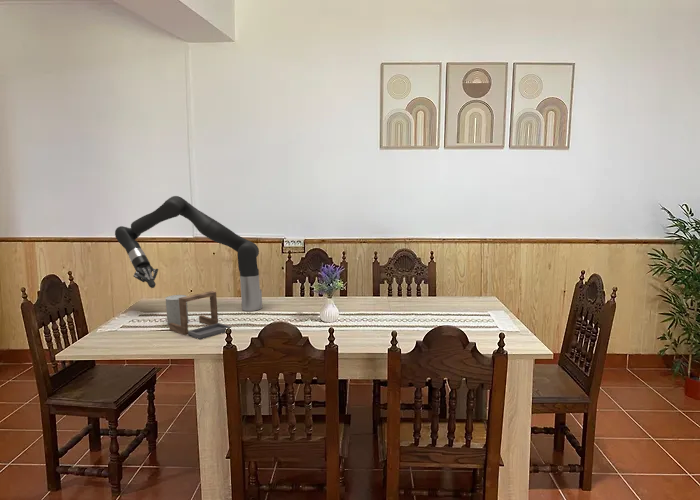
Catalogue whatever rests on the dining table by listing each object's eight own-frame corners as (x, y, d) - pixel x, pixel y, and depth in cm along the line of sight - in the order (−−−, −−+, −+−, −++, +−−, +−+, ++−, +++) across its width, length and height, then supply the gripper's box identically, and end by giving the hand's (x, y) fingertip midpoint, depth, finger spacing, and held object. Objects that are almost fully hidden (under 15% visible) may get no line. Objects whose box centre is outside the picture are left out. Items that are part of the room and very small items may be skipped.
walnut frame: (202, 321, 292) (199, 288, 289) (218, 326, 283) (216, 291, 280) (169, 329, 280) (166, 294, 277) (185, 335, 271) (182, 299, 268)
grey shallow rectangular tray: (219, 327, 282) (219, 322, 281) (231, 330, 275) (230, 326, 275) (188, 335, 270) (187, 331, 270) (199, 339, 264) (199, 335, 264)
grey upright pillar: (167, 326, 285) (165, 300, 283) (167, 321, 294) (165, 295, 292) (188, 324, 287) (186, 298, 285) (188, 319, 296) (186, 294, 294)
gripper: (128, 256, 302) (143, 284, 295) (153, 252, 311) (168, 279, 305) (124, 266, 306) (138, 294, 300) (149, 262, 316) (163, 289, 309)
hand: (153, 286), depth 302 cm, fingers closed
